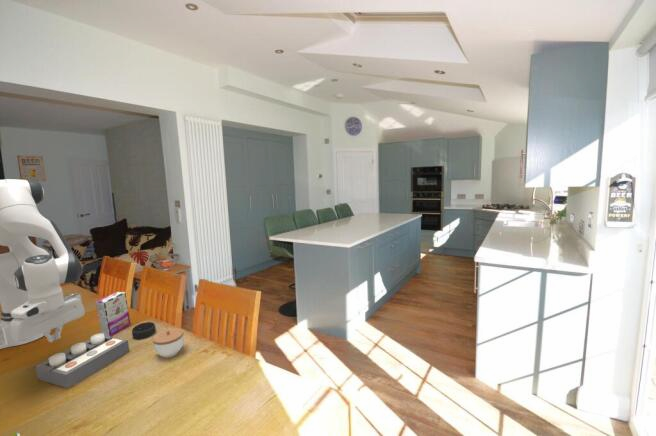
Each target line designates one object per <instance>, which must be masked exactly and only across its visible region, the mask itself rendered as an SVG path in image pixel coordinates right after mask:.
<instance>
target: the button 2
mask: <svg viewBox="0 0 656 436" xmlns="http://www.w3.org/2000/svg"><path fill="white" fill-rule="evenodd" d="M84 342H85V341H83V342H77V343H75V344H73V345H72V346H71V347H70V349H71V353H72V355H75V356H77V357H78V356H80V355H82V354H84V353H86V352H87V349H86V343H84Z"/></svg>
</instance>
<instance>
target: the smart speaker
mask: <svg viewBox="0 0 656 436" xmlns="http://www.w3.org/2000/svg"><path fill="white" fill-rule="evenodd" d="M156 331H157V329H156V324H155V323H154V322H151V321H150V322H149V321H147V322H141V323H139V324H137V325H134V327H133V328H132V329H131V334H132V338H133V339H136V340H141V339H142V340H143V339H146V338H149V337H151V336H153V335H154V334H155V333H156Z"/></svg>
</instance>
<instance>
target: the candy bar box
mask: <svg viewBox="0 0 656 436" xmlns="http://www.w3.org/2000/svg"><path fill="white" fill-rule="evenodd" d="M95 304H96V311H97V316H98V322H99V326H100V333H103V334H104V335H105V336H110V337H114V336H115V335H116V334H118V333H120V332H121V331H123V330H124V329H126V328H127V327H129V326H130V325H131V319H130V311H129V307H128V301H127V295H126V291H116V292H114V293H111V294H109V295H108V296H105V297H103V298H101V299H99V300H97V301H95Z"/></svg>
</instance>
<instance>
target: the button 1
mask: <svg viewBox="0 0 656 436" xmlns="http://www.w3.org/2000/svg"><path fill="white" fill-rule="evenodd" d="M48 360H49V364H50V366H51V367H54V368H55V369H56V368H57V367H59V366H61V365H63V364H65V363H67V362H66V357H65V353H63V352H58V353H55V354H52V355H51V356H49V357H48Z"/></svg>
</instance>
